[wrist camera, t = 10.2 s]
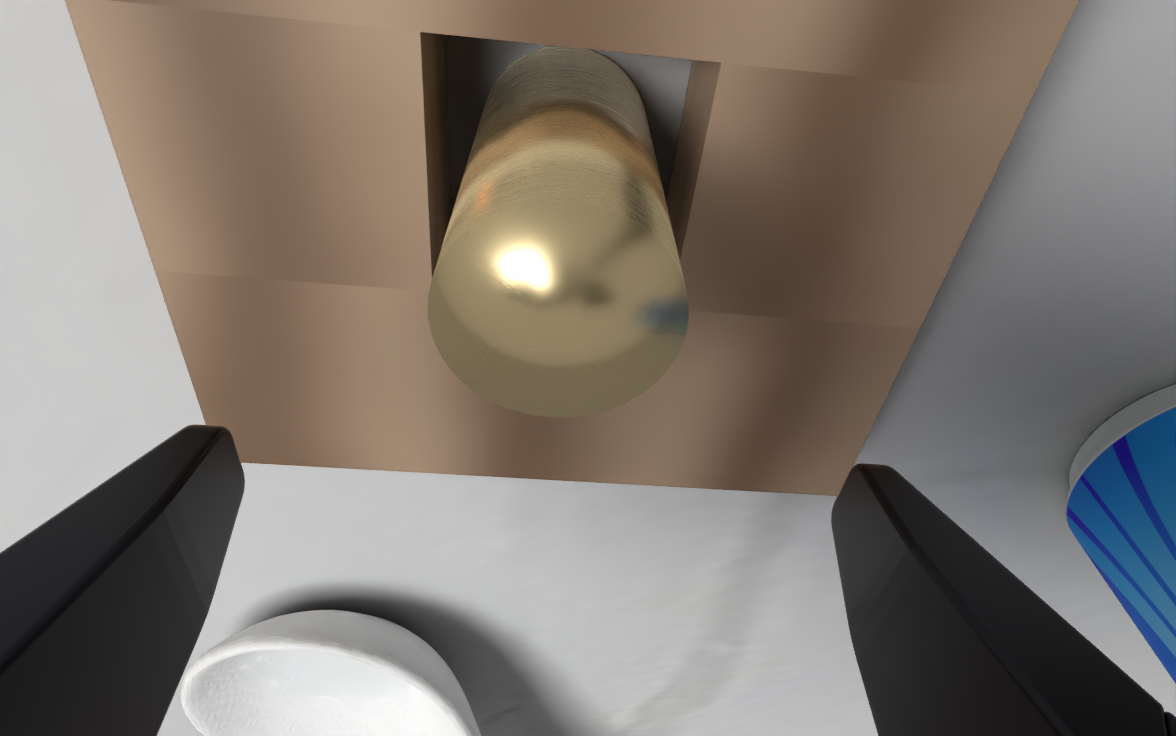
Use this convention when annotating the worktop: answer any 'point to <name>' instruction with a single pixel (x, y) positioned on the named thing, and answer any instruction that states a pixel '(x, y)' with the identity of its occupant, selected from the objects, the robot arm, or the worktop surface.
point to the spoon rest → (325, 681)
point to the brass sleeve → (560, 245)
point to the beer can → (1133, 513)
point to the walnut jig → (422, 214)
